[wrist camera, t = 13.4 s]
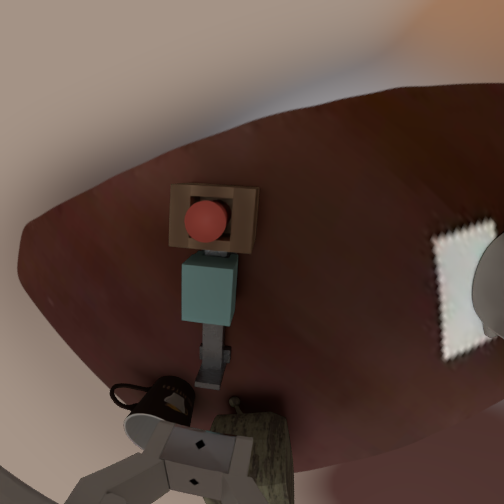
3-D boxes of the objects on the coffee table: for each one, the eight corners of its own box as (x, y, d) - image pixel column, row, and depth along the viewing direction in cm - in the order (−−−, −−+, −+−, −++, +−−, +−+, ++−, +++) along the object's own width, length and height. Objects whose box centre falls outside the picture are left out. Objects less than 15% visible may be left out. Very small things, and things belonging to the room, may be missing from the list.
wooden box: (259, 187, 34) (255, 189, 27) (255, 239, 36) (250, 254, 29) (190, 182, 35) (171, 184, 28) (188, 233, 36) (168, 246, 29)
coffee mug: (212, 405, 42) (199, 452, 32) (168, 416, 43) (149, 459, 34) (170, 345, 40) (144, 388, 30) (126, 362, 41) (97, 401, 32)
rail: (237, 242, 36) (230, 254, 30) (230, 363, 40) (223, 390, 34) (204, 239, 36) (190, 250, 30) (201, 359, 40) (191, 385, 34)
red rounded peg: (235, 198, 31) (226, 202, 26) (233, 232, 32) (223, 244, 26) (201, 195, 31) (185, 199, 26) (199, 229, 32) (183, 240, 27)
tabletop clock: (220, 389, 41) (179, 540, 17) (283, 383, 40) (282, 546, 16) (240, 450, 44) (220, 575, 20) (293, 446, 43) (294, 576, 19)
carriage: (240, 254, 35) (233, 269, 29) (236, 304, 36) (229, 326, 30) (196, 250, 35) (182, 264, 29) (195, 299, 36) (181, 320, 31)
